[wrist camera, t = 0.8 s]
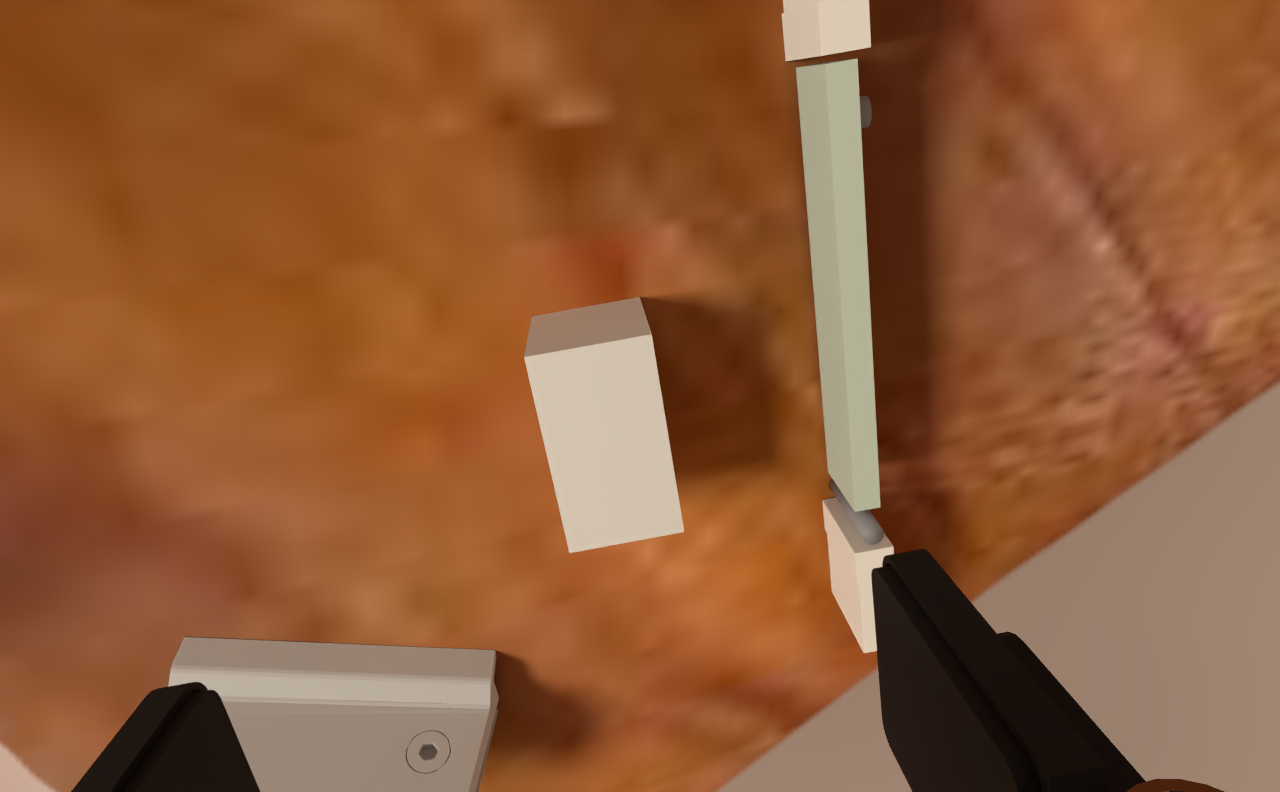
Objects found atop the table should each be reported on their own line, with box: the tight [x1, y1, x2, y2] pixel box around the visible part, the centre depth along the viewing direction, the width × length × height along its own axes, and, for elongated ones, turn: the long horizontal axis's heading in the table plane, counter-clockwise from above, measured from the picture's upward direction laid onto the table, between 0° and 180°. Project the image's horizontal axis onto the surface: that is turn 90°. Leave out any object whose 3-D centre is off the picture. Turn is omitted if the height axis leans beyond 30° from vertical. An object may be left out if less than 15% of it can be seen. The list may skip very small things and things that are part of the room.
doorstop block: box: [524, 297, 684, 553], centre depth 34 cm, size 9×5×6 cm, turn 9°
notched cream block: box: [782, 0, 894, 653], centre depth 34 cm, size 33×2×5 cm, turn 9°
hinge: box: [168, 637, 499, 792], centre depth 39 cm, size 17×5×10 cm, turn 83°
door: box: [796, 58, 884, 545], centre depth 34 cm, size 20×2×5 cm, turn 9°
